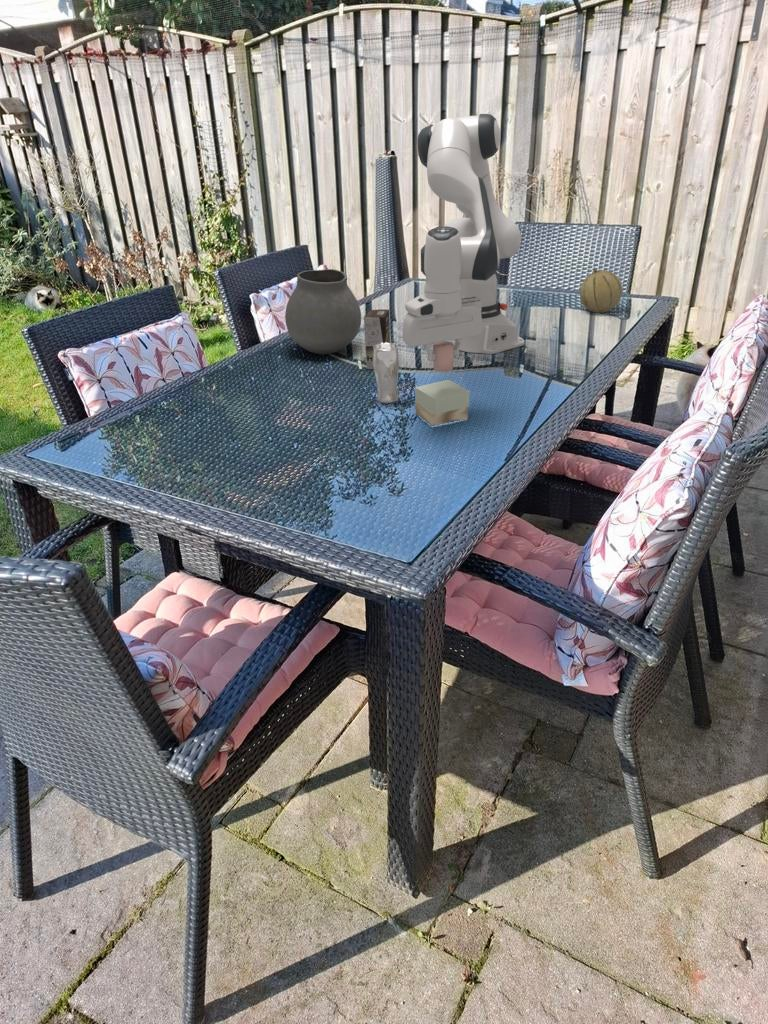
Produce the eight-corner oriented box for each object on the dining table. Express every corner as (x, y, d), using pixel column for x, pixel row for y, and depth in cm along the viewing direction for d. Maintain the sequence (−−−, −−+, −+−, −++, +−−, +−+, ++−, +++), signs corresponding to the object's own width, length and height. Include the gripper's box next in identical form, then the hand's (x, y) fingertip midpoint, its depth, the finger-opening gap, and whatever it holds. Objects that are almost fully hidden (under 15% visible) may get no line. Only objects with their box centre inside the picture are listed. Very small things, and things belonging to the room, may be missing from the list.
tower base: (449, 408, 186) (449, 394, 184) (467, 421, 178) (467, 407, 176) (415, 415, 183) (415, 401, 181) (432, 429, 175) (432, 414, 173)
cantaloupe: (624, 316, 250) (630, 273, 243) (583, 318, 251) (587, 275, 243) (613, 305, 263) (618, 264, 255) (574, 307, 264) (577, 266, 256)
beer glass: (403, 395, 194) (402, 343, 187) (395, 405, 189) (393, 351, 181) (380, 393, 196) (377, 341, 189) (371, 403, 191) (368, 349, 183)
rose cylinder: (447, 363, 177) (447, 340, 173) (456, 369, 173) (457, 345, 169) (429, 366, 175) (429, 343, 172) (438, 372, 171) (438, 349, 168)
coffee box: (386, 369, 213) (384, 317, 205) (366, 369, 214) (362, 316, 206) (392, 360, 221) (390, 308, 213) (372, 359, 222) (369, 308, 214)
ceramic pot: (318, 368, 217) (310, 286, 205) (275, 351, 233) (265, 274, 221) (377, 349, 231) (374, 271, 218) (333, 335, 247) (326, 261, 234)
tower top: (448, 394, 184) (448, 379, 182) (469, 406, 177) (469, 391, 175) (415, 401, 181) (415, 387, 179) (435, 414, 173) (435, 399, 171)
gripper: (475, 292, 171) (473, 347, 178) (399, 304, 165) (400, 361, 172) (488, 298, 166) (486, 354, 173) (410, 310, 160) (411, 368, 167)
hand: (443, 358), depth 173 cm, fingers closed on rose cylinder, 5 cm apart
